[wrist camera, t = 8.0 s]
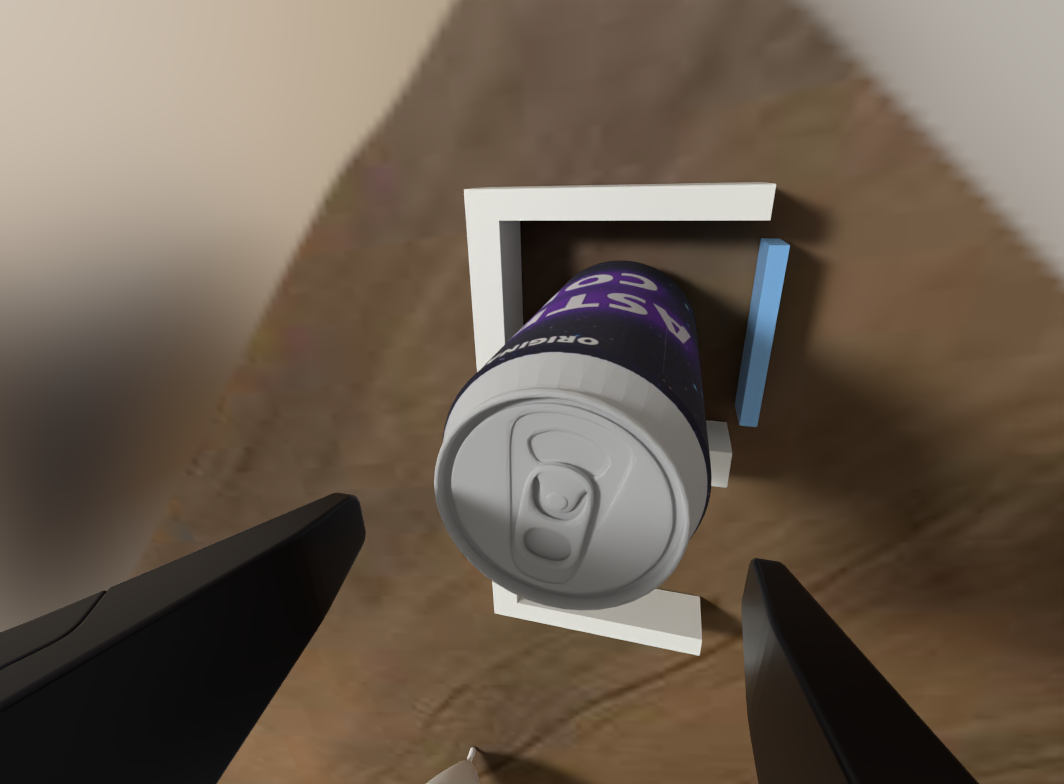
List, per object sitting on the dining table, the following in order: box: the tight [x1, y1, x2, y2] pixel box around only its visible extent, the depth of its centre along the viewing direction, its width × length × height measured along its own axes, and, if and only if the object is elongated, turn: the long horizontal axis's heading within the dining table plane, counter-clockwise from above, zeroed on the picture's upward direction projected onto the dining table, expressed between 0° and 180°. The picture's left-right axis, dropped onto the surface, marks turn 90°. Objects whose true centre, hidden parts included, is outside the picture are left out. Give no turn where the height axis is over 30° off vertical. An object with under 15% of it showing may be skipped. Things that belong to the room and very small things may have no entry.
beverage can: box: [434, 261, 712, 611], centre depth 14 cm, size 6×6×12 cm
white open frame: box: [464, 182, 790, 656], centre depth 20 cm, size 10×20×2 cm, turn 2°
